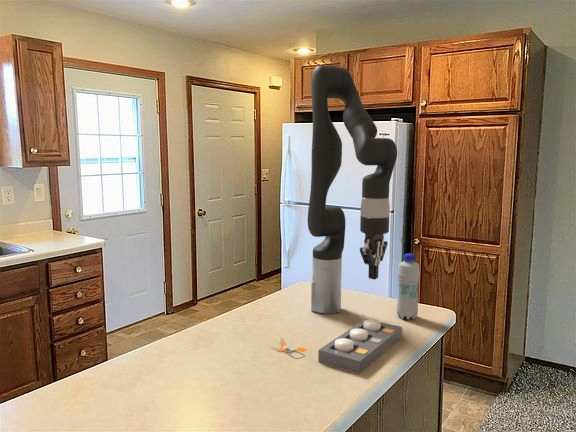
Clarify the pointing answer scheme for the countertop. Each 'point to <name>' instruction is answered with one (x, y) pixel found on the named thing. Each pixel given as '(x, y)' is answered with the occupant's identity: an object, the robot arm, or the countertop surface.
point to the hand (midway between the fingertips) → (373, 278)
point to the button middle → (359, 335)
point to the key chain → (289, 349)
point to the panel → (361, 348)
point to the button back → (372, 325)
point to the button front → (344, 345)
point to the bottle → (408, 287)
